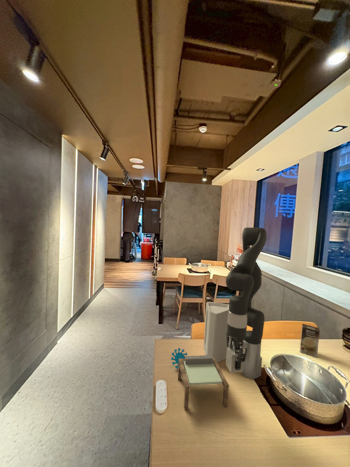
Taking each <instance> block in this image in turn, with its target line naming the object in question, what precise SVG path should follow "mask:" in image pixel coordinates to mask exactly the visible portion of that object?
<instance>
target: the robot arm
mask: <svg viewBox="0 0 350 467" xmlns="http://www.w3.org/2000/svg"><path fill="white" fill-rule="evenodd" d="M241 236H242V238H241V239H242V240H241V241H242V242H241V243H242V253H241V254H240V256H239V258H238V260H237V263H236V265H235V266H234V267H233V268H232V269H231V270H230V272H228V273H227V276H226V278H225V284H226V287H227V288H228V289H229V290H232V291H236V292H241V295H231V296H230V297H229V302H228V304H229V312H228V321H227V332H226V340H227V347H228V348H231V347H233V352H234V354H235V369H236V370H240V369H241V362H244V364H243V372H240V373H241V374H242V375H243V376H244V377H246V378H248V379H251V380H253V379H258V378H259V377H261V376H262V363H263V357H262V355H261V351H262V340H263V335H264V327H265V319H266V318H265V314H264V312H263V311H261V310H259V309H255V308H253V307H252V301H253V298H254V296H255V295H256V294H257V292H259V290H260V288H261V287H262V281H263V280H262V278H263V274H262V270H261V267H260V265H259V263H257V259H258V257H259V256H260V254H261V252H262V250H263V248H264V247H265V245H266V243H267V231H266V228H264V227H263V228H262V227H244V228H243V230H242V234H241ZM248 327H250V328H252V330H250V329H249V330H247V329H248ZM236 350H239V351H236ZM237 354H238V356H237ZM242 357H243V358H242Z"/></svg>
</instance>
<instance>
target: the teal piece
mask: <svg viewBox="0 0 350 467" xmlns="http://www.w3.org/2000/svg"><path fill="white" fill-rule="evenodd" d="M184 352H185V349H184V348H183V349H181V348H180V347H178V348H176V349H174V350H173V352H171V357H170V360H171V361H172V362H171V364H172V366H175V368H176V369H177V370H178V364H179V359H185V356H188V352H187V351H186V352H185V353H184ZM176 364H177V365H176ZM184 368H185V367H184Z"/></svg>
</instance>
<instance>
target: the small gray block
mask: <svg viewBox="0 0 350 467" xmlns="http://www.w3.org/2000/svg"><path fill="white" fill-rule="evenodd" d="M236 351H239V350H236ZM237 356H238V354H237ZM242 358H243V357H242ZM243 364H244V362H241V369H240V370H236V369H235V354H234V352H233V347H231V348H227V354H226V358H225V365H226V367H227V368H228V370H229V372H230V373H231V374H232V373H241V372H243Z"/></svg>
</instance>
